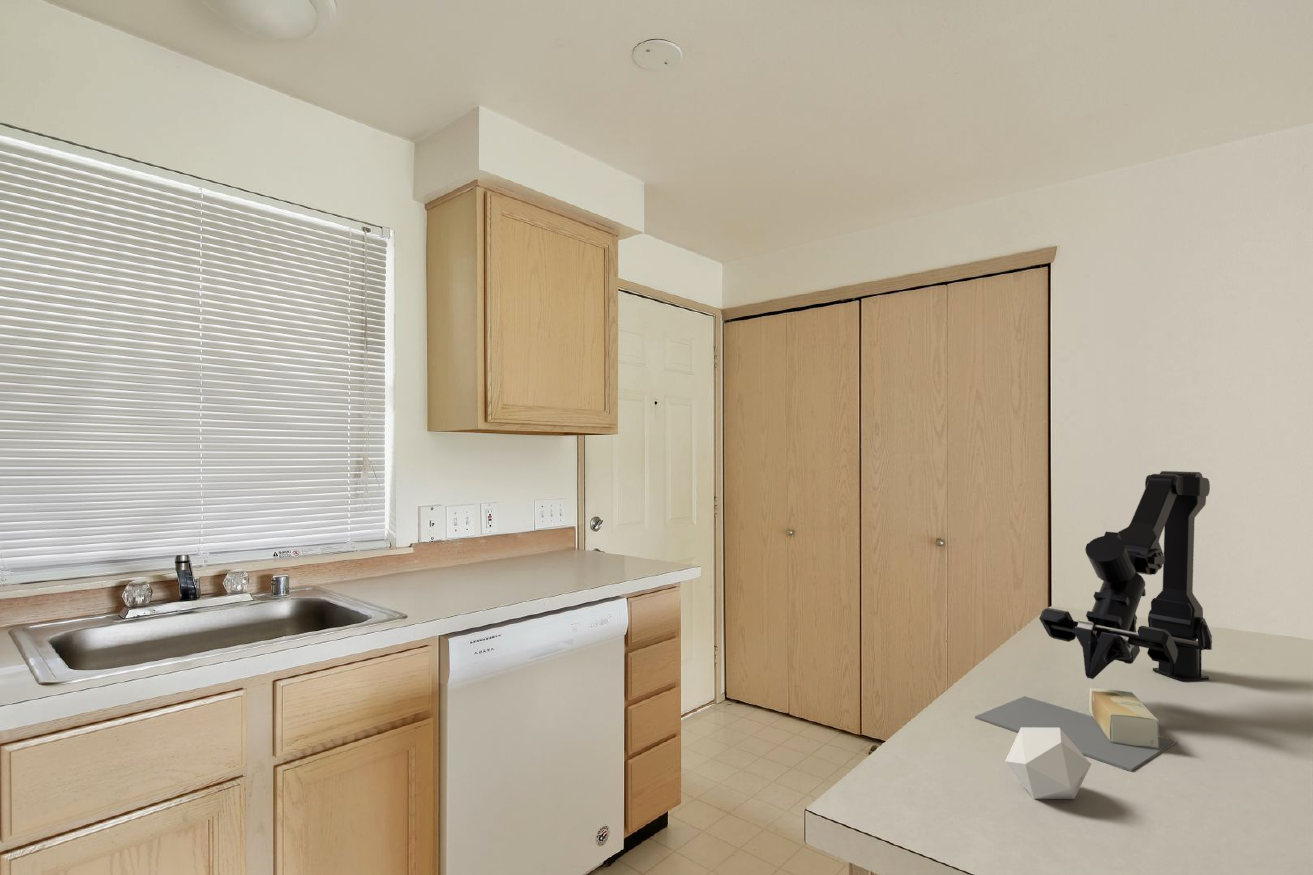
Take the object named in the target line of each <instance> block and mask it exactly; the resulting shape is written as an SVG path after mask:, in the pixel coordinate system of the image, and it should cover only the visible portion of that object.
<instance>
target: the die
mask: <svg viewBox="0 0 1313 875" xmlns="http://www.w3.org/2000/svg"><path fill="white" fill-rule="evenodd" d="M1086 757H1087V756H1084V755H1083V754H1082V753H1081V752H1080V750H1079V749H1078V748H1077V747H1076V746H1075V745H1074V744H1073V742H1072V741H1071V740H1070V739H1069V738H1068V737H1067V735H1066V734H1065V733H1064V732H1063V731H1062V730H1061V728H1036V727H1021V728H1020V730H1019V733H1017V734H1016V736H1015V739H1014V741H1013V744H1012V746H1011V748H1010V750H1009V752H1008V754H1007V757H1006V759H1004V761H1005V763H1006V764H1007V766H1008V767H1009V768H1010V770H1011V771H1012V772H1013V774H1014V775H1015V777H1017V779H1018V781H1020V783H1021V784H1022V785H1023V787H1024V788H1025V789H1026V791H1027V792H1028V794H1030V796H1031V797H1032V798H1033V800H1075V798H1076V797H1077V795H1078V792H1079V791H1080V788H1081V786H1082V784H1083V782H1084V781H1085V780H1084V779H1085V778H1086V776H1087V773H1088V771H1089V770H1090V768H1091V766H1092V763H1091V762H1090V761H1089V760H1088V758H1086Z"/></svg>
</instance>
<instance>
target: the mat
mask: <svg viewBox="0 0 1313 875" xmlns="http://www.w3.org/2000/svg"><path fill="white" fill-rule="evenodd" d="M974 719H976V720H979V721H983V722H985V723H989V724H991V725H994V726H998V727H1001V728H1003V729H1006V730H1009V731H1012V732H1015V733H1017V734H1018V733H1019V730H1020V728H1021V727H1036V728H1061V730H1062V731H1063V732H1064V733H1065V734H1066V735H1067V737H1068V738H1069V739H1070V740H1071V741H1072V742H1073V744H1074V745H1075V746H1076V747H1077V748H1078V749H1079V750H1080V752H1081V753H1082V754H1083V755H1084V756H1085V757H1088V758H1091V759H1094V760H1096V761H1099V762H1102V763H1105V764H1108V765H1111V766H1113V767H1116V768H1120V769H1122V770H1125V771H1128V772H1133V771H1134V770H1136V769H1137V768H1139V767H1140V766H1142V765H1143V764H1145V763H1147V762H1148V761H1149V760H1151V759H1153V758H1155V757H1156V756H1158V755H1159V754H1161V753H1162V752H1164V751H1165V750H1167V749H1168V748H1170V747H1171V746H1173V745H1174V744H1176V740H1174V739H1169V738H1166V737H1162V736H1160V735H1159V748H1158V749H1157V748H1149V747H1142V746H1133V745H1126V744H1118V743H1112V742H1110V741H1109V739H1108V738H1107V736H1106V735H1105V733H1104V732H1103V731H1102V729H1101V728H1100V726H1099V725H1098V724H1097V722H1096V721H1095V719H1094V718H1093V716H1092V715H1091V714H1086V713H1083V712H1078V711H1076V710H1072V709H1069V708H1065V707H1061V706H1059V705H1055V704H1053V703H1049V702H1046V701H1043V700H1039V699H1035V698H1032V697H1029V696H1022V697H1019V698H1017V699H1014V700H1011V701H1010V702H1006V703H1003V704H1001V705H1000V706H997V707H994V708H992V709H989V710H986V711H985V712H982V713H979V714H977V715H975V716H974Z"/></svg>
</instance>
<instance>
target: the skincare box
mask: <svg viewBox="0 0 1313 875" xmlns="http://www.w3.org/2000/svg"><path fill="white" fill-rule="evenodd" d="M1088 697H1089V698H1088V700H1089V702H1088V703H1089V706H1088V708H1089V709H1088V710H1089V711H1088V712H1089V715H1090V716H1093V718H1094V719H1095V721H1096V722H1097V724H1098V725H1099V726H1100V728H1101V729H1102V731H1103V732H1104V733H1105V735H1106V736H1107V738H1108V739H1109V741H1110V742H1112V743H1118V744H1126V745H1133V746H1142V747H1149V748H1157V749H1158V748H1159V736H1160V724H1159V723H1160V722H1159V721H1160V720H1159V719H1158V718H1157V717H1156V716H1155V715H1154V714H1153V713H1152V711H1151V710H1149V709H1148V707H1146V706H1145V705H1144V703H1143V702H1141V700H1140V699H1139V698H1138V697H1137V696H1136V694H1134V693H1133V692H1132V691H1124V690H1119V689H1118V690H1116V689H1107V688H1098V687H1089V696H1088Z"/></svg>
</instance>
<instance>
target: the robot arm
mask: <svg viewBox="0 0 1313 875" xmlns="http://www.w3.org/2000/svg"><path fill="white" fill-rule="evenodd" d="M1144 482H1145V485H1144V486H1145V488H1144V491H1143V493H1142V495H1141V498H1140V500H1139V503H1138V505H1137V506H1136V509H1135V512H1134V514H1133V516H1132V518H1131V521H1130V523H1129V525H1128V526H1127V527H1125V528H1123V529H1121V530H1120V531H1118V532H1117V531H1116V532H1115V531H1105V533H1104V535H1102V536H1098V537H1095V538H1093V539H1092V540H1090V542H1088V543H1087V544H1086V545H1085V549H1084V550H1085V554H1086V556H1087V558H1088V560H1089V561H1090V564H1091V566H1092V568H1093V570H1094V572H1095V574H1096V576H1097V577H1096V578H1099V579H1100V580H1101V581H1102V583H1101V587H1100V589H1099V591H1095V592H1094V594H1093V599H1094V600H1095V602H1094V604H1093V608H1092V609H1091V611H1090V610H1087V612H1086V615H1085V617H1086V620H1084V619H1080V618H1079V619H1077V620H1076V621H1075V620H1074V619H1073V617H1072V615H1071V613H1070V612H1069V611H1067V610H1061V609H1057V608H1051V607H1047V608H1044V609H1043V610H1042V611H1041V614H1040V616H1039V618H1038V620H1039V621H1040V622H1041V624H1042V626H1043V628H1044V630H1045V632H1046V633H1047V635H1048V636H1049V638H1051V639H1054V640H1059V641H1063V642H1068V643H1069V642H1071V641H1075V639H1076V638H1077V640H1078V642H1079V644H1080V645H1081V646H1080V647H1082V654H1083V664H1084V672H1085V676H1086V678H1087V679H1090V680H1094V679H1095V678H1096V677H1097V676H1098V675H1099V674H1100V673H1101V672H1102V671H1104V669H1105V668H1107V666H1109V665H1110V664H1112V663H1113V662H1114V661H1118V662H1122V663H1124V664H1128V665H1131V664H1132V665H1133V663H1134V662H1135V660H1136V659H1137V657H1138V655H1139V653H1140V652H1141V649H1140V648H1145V649H1147V652H1146V653H1147V655H1148V657H1149V658H1150V659H1151V661H1153V662H1158V667H1152V671H1153V672H1156V673H1159V674H1162V675H1163V676H1167V677H1169V678H1172V679H1174V680H1175V679H1176V680H1178V681H1181V682H1187V681H1188V682H1189V681H1205V680H1210V676H1209V675H1206V674H1202V651H1206V650H1207V651H1211V650H1213V646H1212V645H1213V639H1212V638H1213V635H1212V632H1211V630H1210V628H1209V626H1208V625H1209V624H1208V622H1207V621H1206V618H1205V617H1204V609H1203V607H1202V605H1201V604H1200V602H1199V600H1198V599H1197V597H1196V596H1195V595H1194V593H1193V592H1194V590H1193V587H1194V554H1195V552H1194V549H1195V548H1194V547H1195V546H1194V544H1195V518H1196V517H1197V515H1199V514H1200V512H1201V511H1202V510H1203V508H1204V507H1205V506H1206V502H1207V497H1208V496H1209V494H1210V488H1211V485H1210V480H1209V479H1208V478H1207V477H1204V476H1203V475H1202V472H1200V471H1178V470H1177V471H1174V470H1173V471H1172V470H1162V471H1160V472H1159V473H1152V474H1148V475H1147V476H1146V478H1145V481H1144ZM1163 532H1164V534H1163ZM1162 534H1163V549H1162V545H1161V543H1160V538H1161V537H1162ZM1161 569H1162V588H1161V589H1162V590H1161V591H1160V592H1159V593H1158V594H1157V596H1156V597H1153V598H1152V599H1151V601H1150V610H1149V612H1148V615H1147V624H1148V626H1146V625H1140V626H1138V629H1137V627H1136V624H1137V623H1138V622H1137V620H1138V617H1137V614H1136V612H1137V609H1138V607H1139V605H1140V600H1141V598H1142V597H1146V595H1147V594H1146V589H1145V586H1146V580H1145V579H1144V577H1143V576H1142V575H1147V576H1153V575H1156V574H1157V573H1158V571H1159V570H1161Z"/></svg>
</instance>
